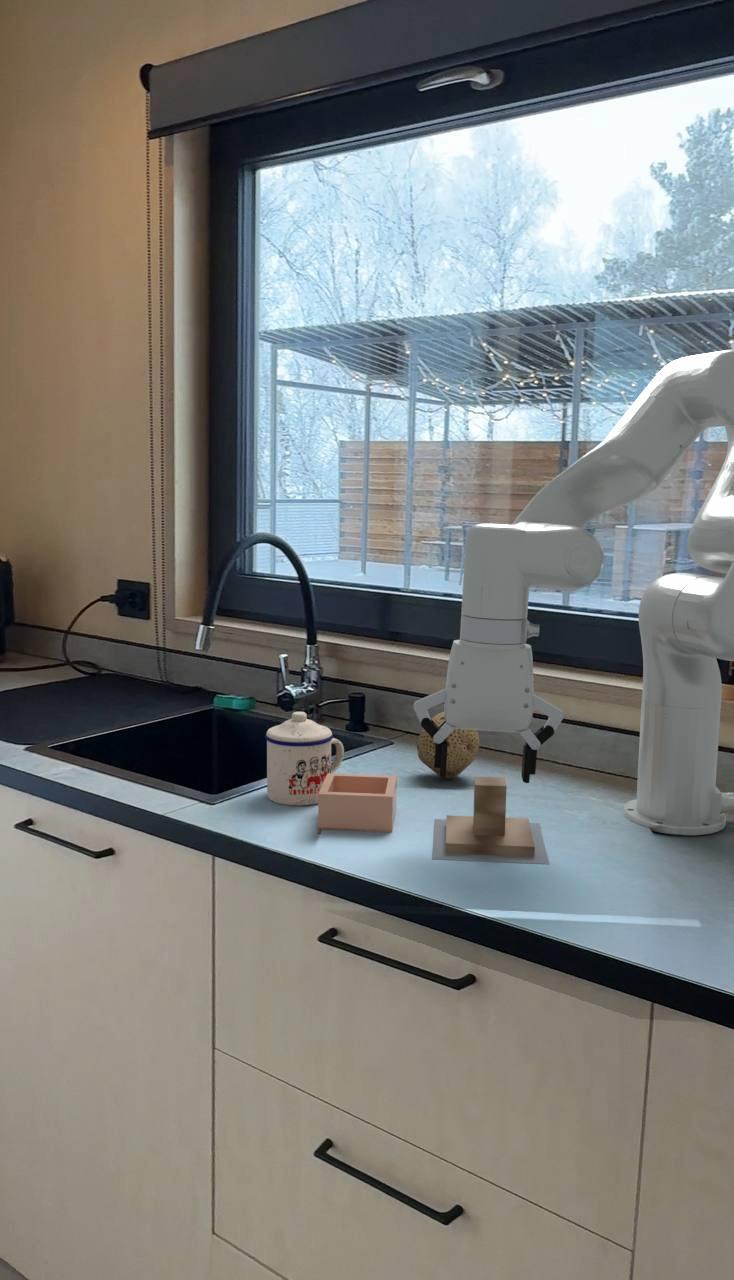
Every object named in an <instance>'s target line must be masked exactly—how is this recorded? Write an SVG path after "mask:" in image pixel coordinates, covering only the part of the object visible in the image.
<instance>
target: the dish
mask: <svg viewBox="0 0 734 1280" xmlns="http://www.w3.org/2000/svg"><path fill="white" fill-rule="evenodd" d="M397 784H398V775H389V774H387V775H385V774H383V775H382V774H359V773H358V774H357V773H356V774H355V773H335V772H333V773H327V775H326V778H325V780H324V782H323V785H322V787H321V789H320V791H319V794H318V804H317V805H318V806H317V807H318V809H317V810H318V812H317V814H318V815H317V816H318V817H317V822H318V823H317V828H318V829H317V834H319V835H321V834H322V832H323V831H322V830H326V831H352V832H373V833H374V832H375V833H379V832H380V833H393V831H394V830H393V829H394V823H395V817H396V812H397V799H398V798H397V794H398V793H397V792H398V791H397V790H398V788H397V787H398V786H397Z"/></svg>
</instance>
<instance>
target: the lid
mask: <svg viewBox="0 0 734 1280" xmlns="http://www.w3.org/2000/svg"><path fill="white" fill-rule="evenodd" d="M506 780H507V779H506V777H500V776H499V777H498V776H497V777H496V776H477V775H475V776H474V782H473V783H474V784H473V786H474V787H473V788H474V789H473V815H472V816H471V815H470V816H469V815H449V814H447V815H446V819H447V820H446V853H449V854H473V855H497V856H520V857H534V853H535V846H534V841H533V837H532V832H531V828H530V823H531V822H530V820H529V818H525V817H524V818H523V817H506V813H507V812H506V810H507V782H506Z"/></svg>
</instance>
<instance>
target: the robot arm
mask: <svg viewBox="0 0 734 1280" xmlns="http://www.w3.org/2000/svg"><path fill="white" fill-rule="evenodd" d="M718 427H724V429H725V433H726V437H727V438H726V439H727V450H726V456H725V459H724V462H723V464H722V466H721V469H720V471H719V473H718V475H717V476H716V479H715V481H714V482H713V484H712V485H711V486H712V487H711V489H710V491H709V493H708V494H707V496H706V498H705V500H704V501H703V502H702V503H703V504H702V505H701V508H700V509H699V512H698V513H697V515H696V517H695V519H694V521H693V522H692V526H691V527H690V529H689V532H688V535H687V540H686V542H687V543H686V544H687V545H686V546H687V547H686V548H687V552H688V555H689V557H690V558H691V560H692V561H693V562H694V563H695V564H696V565H697V566H700V567H701V568H702V569H704V570H705V569H706V570H708V571H712V572H716V573H721V574H725V577H720V576H714V575H708V574H701V573H700V574H698V573H691V572H674V573H668V574H665V575H662V576H660V577H658V578H657V579H655V580H654V581H652V582H651V583H650V584H649V585H648V587H647V588H646V589H645V591H644V592H643V594H642V596H641V598H640V601H639V606H638V626H639V634H640V642H641V650H642V651H641V652H642V661H643V662H642V664H643V665H642V667H643V669H642V670H643V671H642V693H641V694H642V695H641V708H640V711H641V712H640V724H639V725H640V728H639V748H638V763H637V764H638V765H637V782H636V783H637V784H636V786H637V787H636V798H635V799H631V800H629V801H628V802H626V803H625V804H624V805H623V810H622V811H623V815H624V817H626V819H628V820H629V821H630V822H633V823H635V824H637V825H640V826H644V827H647V828H649V830H650V831H652V832H656V833H661V834H662V833H663V834H669V835H675V836H676V835H677V836H703V835H705V836H706V835H710V834H714V833H718V832H720V831H722V830H723V829H725V828H726V824H727V815H726V814H728V812H729V811H734V792H721V791H720V789H719V788H718V787H717V786H716V785H717V784H716V780H717V767H718V752H719V737H720V722H721V721H720V720H721V708H722V707H721V706H722V693H723V684H722V676H721V675H722V674H721V670H720V667H719V663H718V661H717V659H719V660H721V661H722V660H723V661H729V662H734V349H725V350H718V351H712V352H707V353H705V352H704V353H700V354H694V355H689V356H684V357H683V356H682V357H680V358H678V359H675V360H672V361H671V362H669V363H668V364H666V365H665V366H664V367H662V368H661V370H660V371H659V372H657V374H656V375H655V376H654V377H653V379H651V381H650V382H649V383H648V384H647V386H646V387H645V389H644V390H643V391H642V392H641V393H640V394H639V396H638V397H637V399H636V400H635V401H634V402H633V403H632V404H631V405H630V407H629V408H628V410H627V411H626V412H625V413H624V415H623V416H622V417H621V418H620V420H618V422H617V423H615V425H614V426H613V428H612V429H611V430H610V431H609V433H608V434H607V435H606V436H605V437H604V438H603V440H602V441H601V442H599V444H597V446H596V447H594V448H593V449H592V450H590V451H588V452H587V453H586V454H584V455H583V456H581V457H580V458H579V459H577V460H576V461H574V463H573V464H571V465H570V466H568V467H567V468H566V469H564V470H563V471H562V472H561V473H559V474H558V475H557V476H555V477H554V478H552V480H550V481H549V482H548V483H547V484H545V486H543V487H542V488H541V489H540V490H538V492H537V493H536V494H535V495H534V496H533V497H532V499H531V500H530V501H529V502H528V503H527V504H526V505H525V507H524V508H523V509H522V511H521V512H519V515H517V517H516V518H515V519H514V520H513V522H512V523H511V524H510V523H509V524H507V523H506V524H505V523H485V522H484V523H476V524H473V525H472V526H471V527H469V529H468V530H467V532H466V536H465V546H464V548H465V549H464V565H463V578H462V579H463V581H462V594H461V596H462V599H461V614H460V615H461V616H460V631H459V634H460V635H459V639H455V640H453V642H452V645H451V649H450V653H449V658H448V664H447V670H446V671H447V672H446V679H445V681H446V682H445V688H443V689H441V690H437V691H436V692H433V693H431V694H429V695H426V696H424V697H422V698H420V699H418V700H415V701H414V703H413V711H414V712H415V715H416V717H417V719H418V720H419V722H420V726H421V728H422V730H423V729H424V730H425V731H426V732H427V733H428V734H429V735H430V736H431V737H432V738H433V740H434V742H435V761H434V768H440V776H439V778H443V777H444V776H446V763H447V746H448V740H446V738H447V737H448V735H449V734H450V733H451V732H452V731H453V730H454V729H455V728H458V729H467V730H477V731H481V732H483V731H484V732H485V731H486V732H499V733H501V732H502V733H519V734H520V735H521V737H522V738H523V739H524V740H525V742H524V745H523V746H522V747H523V749H522V762H521V779H522V782H523V783H524V784H530V779H531V778H530V777H531V776H532V775H534V776H535V775H536V772H537V771H536V770H537V755H538V750H539V749H540V748H541V746H542V745H543V744H544V743H546V742H547V741H548V740H549V739H550V738H551V737H553V736H554V734H555V731H556V730H557V729H558V728H559V725H560V724H561V723H562V720H564V718H565V714H564V712H563V710H562V709H561V708H559V707H556V706H555V705H554V704H552V703H550V702H549V701H547V700H546V699H543V698H541V697H540V696H538V695H536V694H535V692H534V691H535V690H534V687H535V685H534V683H535V682H534V680H535V679H534V678H535V677H534V664H533V663H534V661H533V660H534V659H533V657H534V656H533V651H532V650H533V649H532V645H530V644H528V643H527V639H529V638H532V637H539V636H540V624H534V623H532V622H530V621H529V620H528V613H529V612H528V609H529V598H530V588H532V587H533V588H534V587H535V588H536V587H537V588H544V589H548V590H554V591H560V592H573V591H578V590H580V589H581V590H582V589H584V588H586V587H588V586H590V585H591V584H592V583H594V582H595V581H596V580H597V578H598V577H599V576H600V575H601V573H602V571H603V568H604V565H605V564H604V563H605V551H604V548H603V546H602V543H600V540H599V539H598V538H597V537H596V536H595V535H594V534H593V533H591V532H590V531H588V530H586V529H585V528H583V527H585V525H587V524H588V523H590V522H591V521H592V520H594V519H596V518H597V517H598V516H600V515H602V514H604V513H606V512H607V511H611V510H613V509H614V508H618V507H620V506H622V505H625V504H628V503H631V502H633V501H636V500H638V499H640V498H641V497H642V498H643V496H647V494H650V493H651V492H653V491H655V490H656V489H657V488H658V487H660V485H662V483H663V481H665V480H666V478H667V476H668V475H669V474H670V472H672V470H673V469H674V468H675V466H676V465H677V464H678V463H679V461H680V460H681V459H682V458H683V456H684V455H685V454H686V453H687V451H688V450H689V449H690V447H691V446H693V444H694V443H695V441H697V439H698V438H699V437H700V435H701V434H702V433H703V432H704V431H705V430H707V429H708V428H718ZM443 703H444V704H443ZM441 704H443V712H444V714H445V720H444V721H443V722H442V723H441V724H440V725H439V726H437V724H436V723H435V722H434V721H433V720H432V718H431V717H430V714H429V711H428V710H429V709H430V708H433V707H435V706H437V705H441ZM534 709H536V710H537V711H539V712H540V713H542V714H544V715H546V716H547V717H548V719H547V720H546V722H545V723H544V725H543V726H541V727H540V728H539V729H537V731H536V730H535V731H534V730H533V728H532V722H533V716H534V715H533V714H534Z"/></svg>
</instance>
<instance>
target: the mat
mask: <svg viewBox="0 0 734 1280" xmlns="http://www.w3.org/2000/svg"><path fill="white" fill-rule="evenodd" d="M446 820H447V818H446V819H445V818H444V819H442V818H434V821H433V824H434V825H433V840H432V852H431V853H432V857H431V860H436V861H457V862H458V861H460V862H461V861H462V862H482V863H507V864H529V865H532V864H533V865H548V866H549V865H550V861H549V858H548V853H547V850H546V849H547V848H546V846H545V841H544V838H543V833H542V830H541V826H540V823H539V822H529V823H530V828H531V832H532V837H533V841H534V846H535V853H534V857H520V856H497V855H473V854H449V853H446Z"/></svg>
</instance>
